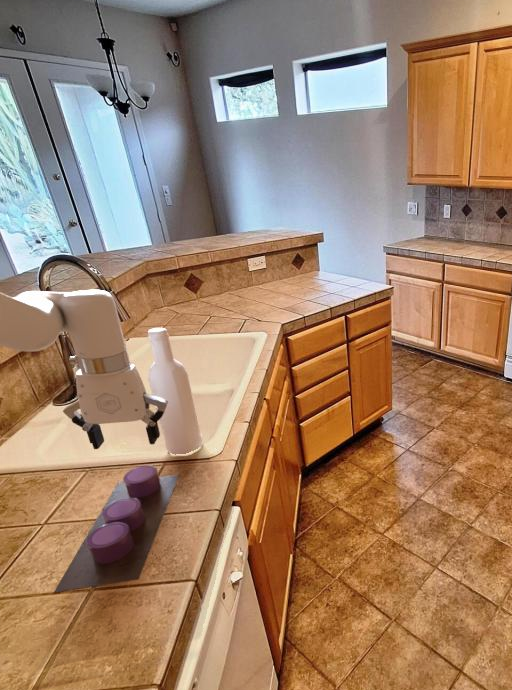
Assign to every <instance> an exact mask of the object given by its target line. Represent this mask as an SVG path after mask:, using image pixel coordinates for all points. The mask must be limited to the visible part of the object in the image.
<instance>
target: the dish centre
mask: <svg viewBox="0 0 512 690" xmlns="http://www.w3.org/2000/svg"><path fill="white" fill-rule="evenodd" d="M103 518H104V521H105V523H106V524H109V523H114V522H122V523H125V524H127V525H128V527H129V530H130V533H131V532H133V531H135V530H136V529H138V528H139V527H140V526H142V524H143V523H144V522H145V515H144V511H143V508H142V505H141V502H140V500H138V499H136V498H125V499H121V500H118V501H116V502H114V503H112V504H110V505H109V506H108V507H106V509H105V510H104V511H103Z"/></svg>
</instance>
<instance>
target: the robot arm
mask: <svg viewBox="0 0 512 690" xmlns="http://www.w3.org/2000/svg"><path fill="white" fill-rule="evenodd" d="M62 333H68V334H69V336H70V340H71V343H72V345H73V346H72V347H73V349H74V352H75V355H74V356H69V358H68V361H69V364H70V365H77V367H78V370H77V371H76V372H75V387H76V395H77V400H76V401H74V402H73V403H70V405H68V406H66V407H65V408H63V410H62V412H63V414H65V416H67V418H68V419H70V420H71V422H72V423H73V424H75V425H76V426H78V427H80V428H81V430H82V431H83V432H86V434H87V437H88V440H89V441H88V442H89V443H90V444H92V448H93V450H98V449H100V448H101V446H102V445H103V443H104V442H105V437H104V433H103V430H102V428H101V425H103V424H104V425H105V424H118V423H132V422H138V421H142V422H143V423H145V424H146V427H145V430H146V431H145V432H146V435H147V438H148V443H149V445H155V444H156V441H157V440H158V439H159V438H160V436H161V432H160V428H159V424H158V422H159V419H160V418H161V417H162V416H163V414H164V412H165V410H166V407H167V405H168V401H167V400H164V399H161V398H158V397H155V396H153V395H152V394H149V393H147V390H146V387H145V384H144V382H143V380H142V377H141V374H140V372H139V370H138V369H137V367H136V365H135V364H134V363H131V361H130V357H129V353H128V349H127V345H126V340H125V337H124V333H123V329H122V325H121V320H120V317H119V312H118V308H117V305H116V301H115V298H114V296H113V295H112V294H111V293H110V292H108V291H106V290H101V289H85V290H76V291H72V292H60V291H59V292H57V291H44V290H43V291H41V290H31V291H24V292H21V293H19V294H17V295H15V296H14V297H12V296H10V295H8V294H5V293H3V292H1V291H0V347H3V348H6V349H10V350H14V351H19V352H28V353H29V352H31V353H32V352H39V351H43V350H45V349H47V348H50V347H51V346H52V345H54V343H55V342H56V341H57V340H58V338H59V336H60V334H62ZM151 405H152V406H154V407H155V406H157V407H158V410H156V412H155V411H153V410H151V409H150V406H151ZM78 410H80V413H79V411H78Z"/></svg>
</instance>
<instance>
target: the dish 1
mask: <svg viewBox="0 0 512 690" xmlns="http://www.w3.org/2000/svg"><path fill="white" fill-rule="evenodd" d="M87 545H88V547H89V549H90V552H91V554H92V557H93V559H94V561H95V562H97V563H99V564H108V563H112V562H115V561H118V560H120V559H122V558H123V557H125V556H126V555H127V554H128V553H129V552H130V551H131V550H132V548H133V546H134V541H133V539H132V536H131V533H130V530H129V527H128V525H127V524H125V523H122V522H114V523H109V524H106V525H104V526H102V527H100V528H98V529H96V530H95V531H94V532H93V533H92V534H91V535H90V536H89V537H88V539H87Z"/></svg>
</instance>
